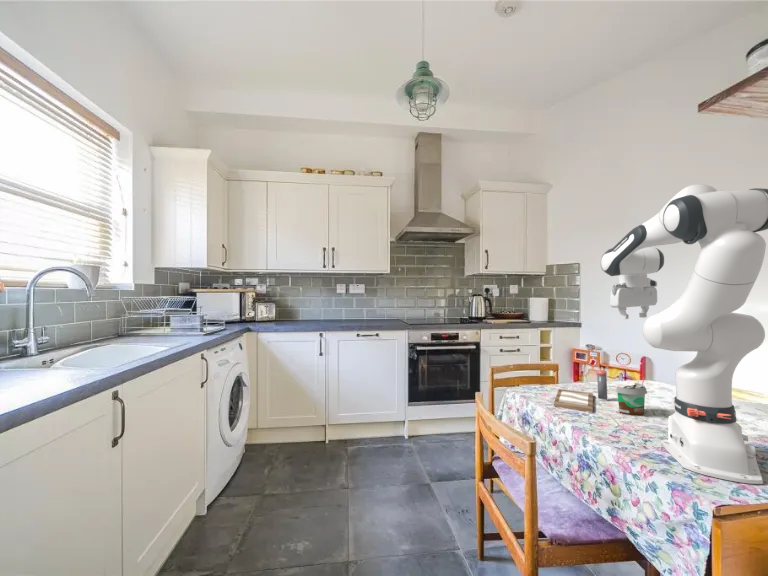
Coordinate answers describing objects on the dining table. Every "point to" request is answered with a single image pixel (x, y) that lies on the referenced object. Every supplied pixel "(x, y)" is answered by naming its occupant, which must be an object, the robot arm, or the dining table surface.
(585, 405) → the writing board
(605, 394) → the marker
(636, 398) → the food container
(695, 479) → the dining table surface
